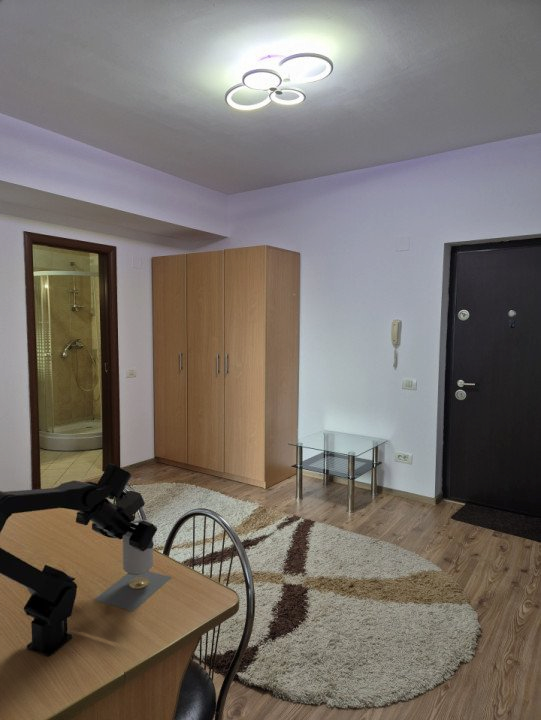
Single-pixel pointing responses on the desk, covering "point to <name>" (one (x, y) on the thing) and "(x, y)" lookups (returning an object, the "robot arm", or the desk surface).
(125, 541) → the can
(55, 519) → the desk surface
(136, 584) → the gold metal dome
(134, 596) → the mat
